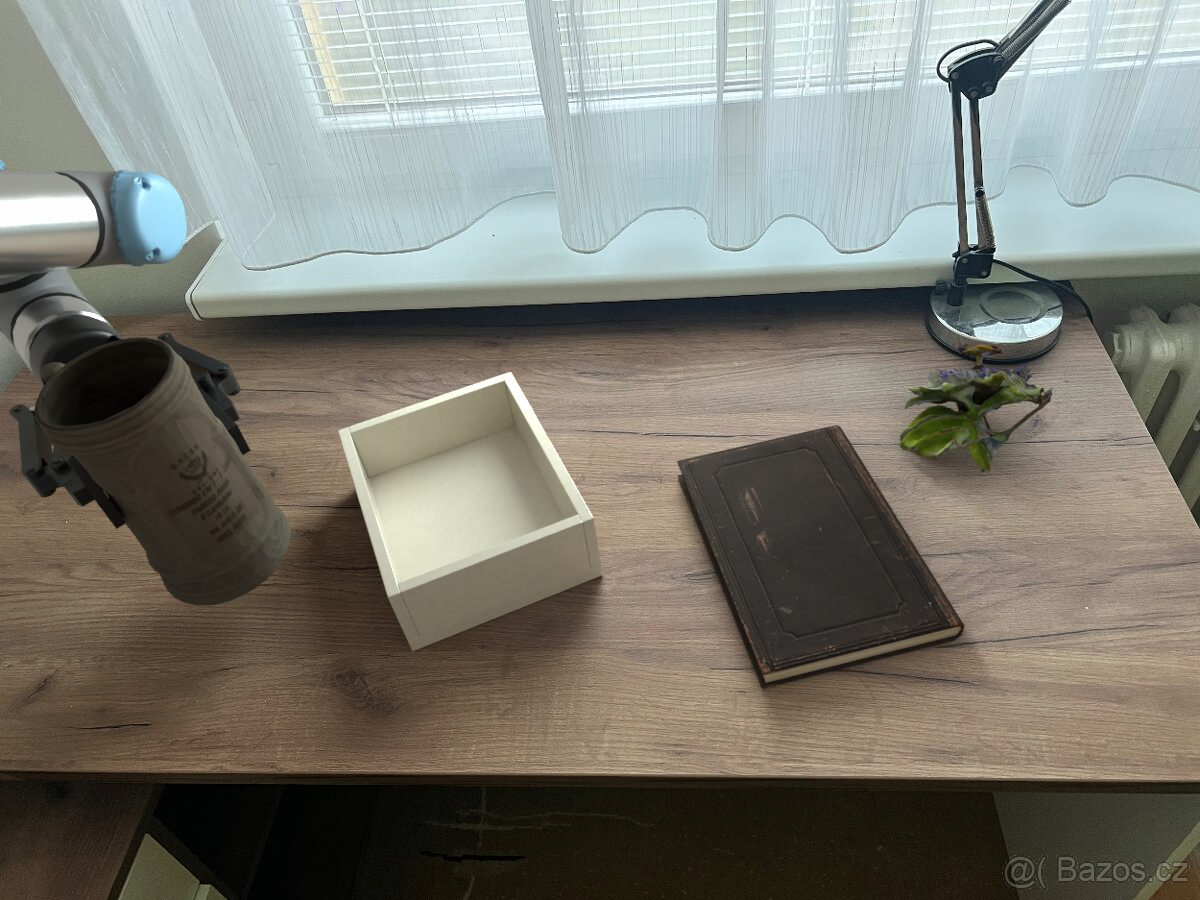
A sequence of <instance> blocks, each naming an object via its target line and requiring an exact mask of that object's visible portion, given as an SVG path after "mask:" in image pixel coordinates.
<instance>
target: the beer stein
mask: <svg viewBox="0 0 1200 900" xmlns="http://www.w3.org/2000/svg"><path fill="white" fill-rule="evenodd" d="M40 373H41V377H42V378H43V379H44V380H45V382H46V384H45V385H44V387H42V388H41V390H40V392H39V394H38V396H37V398H36V400H35V405H34V406H35V410H34V412H35V416H36V419H37V422H38V423H39V425H40V427H41V428H42V430H43V433H44V435H45V437H46V438H47V439H48V440H49V442H50V443H51V446H53V447H54V446H55V447H56V448H58V449H59V450H61V451H62V452H65V453H67V454H69V455H72V456H74V457H75V458H76V459H77V460H78V461H79V462H80V463H81V464H82V466H83V467H84V468H85V469H86V470H87V471H88V473H89V474H90V476H91V477H92V479H93V480H94V481H95V482H96V483H97V484H98V485H99V486H100V487H101V488H102V489H103V491H104V492H105V494H106V495H107V496H108V498H109V499H110V501H111V502H112V504H113V505H114V506H115V508H116V509H117V511H118V512H119V513H120V515H121V516H122V517H123V519H124V520H125V522H126V524H125V525H126V526H127V528H128V529H129V530H130V532H131V533H132V535H133V536H134V537H135V538H136V540H137V542H138V543H139V544H140V546H141V547H142V548H143V550H144V552H145V556H146V558H147V561H148V564H149V566H150V567H151V568H152V570H153V571H154V572H156V573H158V574H159V576H160V578H161V580H162V583H163V585H164V587H165V589H166V591H167V592H169V593H170V595H171V596H172V597H173V598H175V599H176V600H178V601H180V602H182V603H185V604H188V605H191V606H200V607H201V606H202V607H204V606H216V605H220V604H223V603H228V602H230V601H233V600H235V599H239V598H240V597H243V596H245V595H246V594H248V593H250V592H251V591H254V590H255V589H256V588H258V587H259V586H260V585H261V584H263V583H265V582H266V580H267V579H269V578H270V577H271V576H273V574H274V573H275V572H276V570H277V568H278V567H279V566H280V564H281V563H282V561H283V560H284V559H285V556H286V554H287V552H288V549H289V546H290V543H291V538H292V537H291V536H292V535H291V534H292V530H291V524H290V521H289V519H288V517H287V516H286V514H285V512H284V511H283V509H282V508H280V507H279V506H278V505H277V504H276V502H275V500H274V497H273V496H272V494H271V493H270V492H269V490H268V489H267V488H266V486H265V484H264V482H263V481H262V479H261V478H260V476H259V475H258V474H257V473H256V472H255V471H254V470H253V468H252V466H250V464H249V462H248V461H247V459H246V457H245V455H242V453H241V452H240V450H239V448H238V446H237V444H236V442H235V441H234V439H233V438H232V436H231V435H230V434H229V432H228V431H227V429H226V428H225V426H224V425H223V423H222V422H221V421H220V420H219V419H218V418H217V417H215V416H214V414H213V413H212V411H211V410H210V408H209V407H208V405H207V403H206V402H205V400H204V398H203V396H202V395H201V393H200V391H199V389H198V387H197V385H196V383H195V382H194V380H193V378H192V376H191V372H190V369H189V366H188V365H187V364H186V363H185V361H184V360H183V359H182V357H180V356H179V355H178V354H176V352H175V351H174V350H173V349H172V348H171V347H170V346H169V345H168V344H167V343H165V342H163V341H162V340H158V339H157V338H151V337H147V336H139V337H137V336H136V337H127V338H123V339H122V340H117V341H113V342H110V343H107V344H104V345H101V346H98V347H96V348H94V349H91V350H89V351H87V352H85V353H84V354H82V355H80V356H79V357H77V358H75V359H74V360H72V361H70V362H68V363H67V364H66V365H65V364H63V363H59V362H51V363H49V364H46V365H44V366H43V367H42V369H41V371H40Z"/></svg>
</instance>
